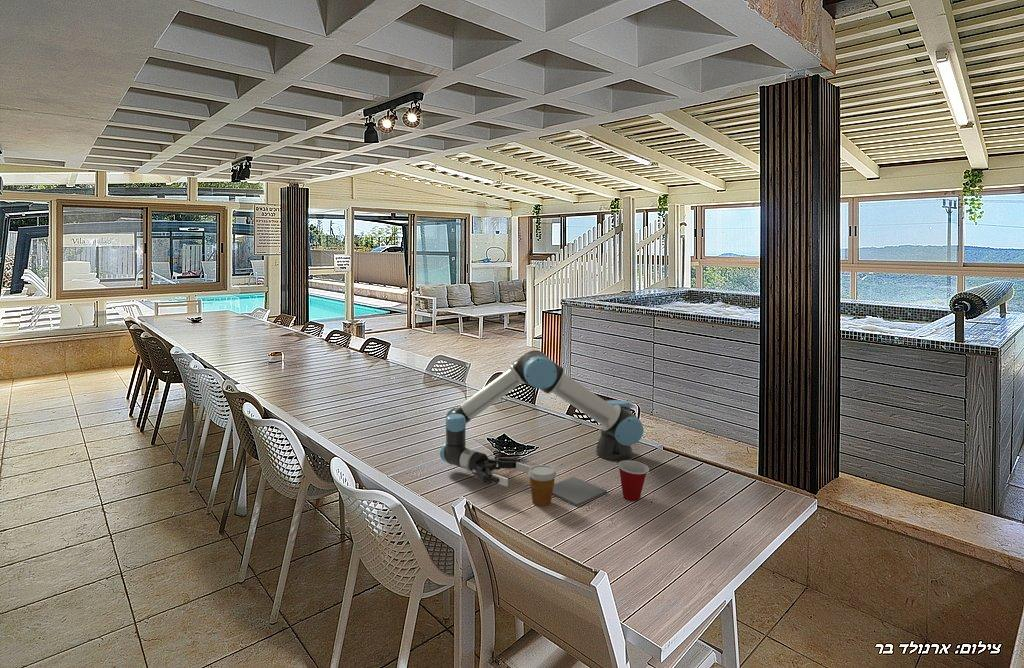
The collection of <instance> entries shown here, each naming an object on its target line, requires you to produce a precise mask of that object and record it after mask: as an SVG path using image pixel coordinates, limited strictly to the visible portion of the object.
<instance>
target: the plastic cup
mask: <svg viewBox="0 0 1024 668" xmlns="http://www.w3.org/2000/svg"><path fill="white" fill-rule="evenodd" d="M617 466H618V468H619V469H618V470H619V477H620V486H621V491H622V497H623V499H624V498H625V499H624V500H626V501H628V500H629V502H637V501H639V500H640V498H641V496H642V491H643V487H644V484H645V479H646V477H647V474H648V473H649V471H650V468H649V466H648V465H647V464H645V463H642V462H639V461H637V460H636V461H635V460H631V459H626V460H620V461H619V462H618V463H617Z"/></svg>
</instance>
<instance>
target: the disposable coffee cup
mask: <svg viewBox="0 0 1024 668" xmlns="http://www.w3.org/2000/svg"><path fill="white" fill-rule="evenodd" d="M527 474H528V477H529V482H530V484H529V485H530V491H531V500H532V504H533V506H536V507H540V508H545V507H549V506H550V505H551V504H552V497H553V495H552V492H553V485H554V484H555V478H556V476H557V472H556V470H555V468H554V467H553V466H551V465H546V464H537V465H533V466H532V467H531V468H530V471H529V472H528V473H527Z"/></svg>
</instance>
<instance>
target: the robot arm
mask: <svg viewBox="0 0 1024 668" xmlns="http://www.w3.org/2000/svg"><path fill="white" fill-rule="evenodd" d="M527 383H528V384H529V385H530V386H531V387H533V388H535V389H537V390H541V391H542V392H543V393H545V394H547V395H548V394H551V393H553V394H554V395H555V396H557V397H558V398H560V399H561V400H563V401H565V402H566V403H568V404H570V405H571V406H573V407H574V408H575V409H577V410H578V411H580V412H581V413H583V414H584V415H586V416H588V417H589V418H590V419H592V420H593V421H595V422H597V423H598V424H600V437H599V439H598V442H597V445H596V448H595V449H596V450H595V453H596V456H598V457H600V458H601V459H605V460H610V461H625V460H630V459H631V458H632V457H633V448H632V446H633V445H635V444H637V443H638V442H639V441H640V440H642V437H643V435H644V430H645V429H644V425H643V423H642V421H641V419H639V418H638V417H637V416H636V415H635V414H633V412H631V408H632V407H631V402H630V401H627V400H618V399H610V400H604V399H603V398H602V397H600V396H599V395H597V394H595V393H594V392H592V391H591V390H589V388H586V387H585V386H584V385H582V384H581V383H579V382H578V381H576V380H574V379H573V378H571V376H569V375H567V374H566V373H565V369H564V367H562V366H561V365H559V364H557V363H556V362H555V361H553V360H552V359H550V358H549V356H547V355H546V354H545V353H544V352H543V351H541V350H530V351H527V352H526V353H524V354H523V355H522V356H520V357H519V358H517V359H516V360H515V361H514V362H511V363H510V366H509V368H508V369H507V370H506V371H504V372H503V373H501V374H500V375H498V377H496V378H495V379H494V380H492V381H490V383H488V384H486V385H485V386H483V388H481V389H480V390H479V391H477V392H476V393H475V394H473V395H472V396H470V397H469V398H468V399H466V400H464V402H462V403H461V404H459V406H457V407H453V408H450V409H449V410H447V412H446V415H445V441H446V442H445V443H444V444H442V446H441V448H440V451H439V456H440V459H441V460H442V461H443V462H445V463H447V464H448V465H453V466H456V467H459V468H462V469H463V470H464V469H465V470H467V471H470V472H472V475H475V476H476V477H477V478H478V479H479V480H480V481H481V482H482V483H484V484H486V483H487V484H488V485H491V484H492V483H495V484H499V485H501V486H504V487H506V488H507V487H508V486H509V478H507V477H505V476H502V475H499V474H496V473H491V472H493V471H495V470H498V471H499V470H501V469H516V470H517V471H519V472H523V473H525V474H528V472H529V471H530V468H531V467H533V466H531V465H529V464H525V463H522V462H521V459H520V458H511V457H500V456H494V459H493V458H489V457H488V455H487V454H485V453H483V452H480V451H477V450H474V449H471V448H467V447H466V444H467V441H466V436H467V435H466V432H467V431H466V429H467V428H466V426H467V424H468V423H469V422H470V421H472V420H473V419H475V418H476V417H478V416H479V415H480V414H481V413H482V412H484V411H485V410H487V409H488V408H489V407H490V406H492V405H494V404H495V403H496V402H497V401H499V400H501V399H502V398H503V397H504V396H506V395H507V394H509V393H511V391H513V390H514V389H515V388H516V387H518V386H520V385H521V384H527Z"/></svg>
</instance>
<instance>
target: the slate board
mask: <svg viewBox="0 0 1024 668" xmlns="http://www.w3.org/2000/svg"><path fill="white" fill-rule="evenodd" d="M606 494H608V490H606V489H604V488H602V487H600V486H598V485H595V484H592V483H589V482H588V481H585V480H582V479H580V478H578V477H576V476H572V477H569V478H567V479H564V480H562V481H559V482H557V483H554V485H553V492H552V496H553V495H554V496H553V497H555V496H556V497H555V498H557V497H558V498H557V499H559V498H560V499H559V500H561V499H562V501H564V502H566V503H568V502H569V503H568V504H570V505H572V504H573V505H572V506H574V505H575V506H574V507H576V506H578V507H580V506H583V505H584V504H587V503H589V502H591V501H594V500H596V499H597V498H600V497H601V496H604V495H606ZM586 502H587V503H586Z"/></svg>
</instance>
